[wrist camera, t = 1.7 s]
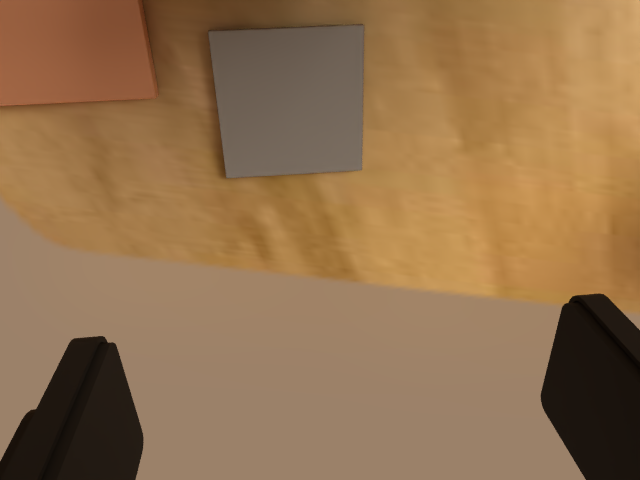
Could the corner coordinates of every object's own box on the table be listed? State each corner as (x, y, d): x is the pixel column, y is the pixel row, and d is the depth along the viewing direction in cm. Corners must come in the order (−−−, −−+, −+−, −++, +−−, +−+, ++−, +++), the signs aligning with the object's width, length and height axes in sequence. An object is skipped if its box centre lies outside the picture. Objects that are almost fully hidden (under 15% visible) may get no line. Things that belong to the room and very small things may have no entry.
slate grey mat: (208, 30, 30) (208, 31, 29) (362, 24, 30) (364, 25, 30) (227, 174, 34) (226, 178, 34) (360, 166, 35) (362, 170, 34)
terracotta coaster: (-81, -98, 26) (-93, -100, 25) (123, -103, 26) (118, -104, 26) (-12, 102, 31) (-20, 106, 30) (158, 94, 31) (155, 98, 30)
